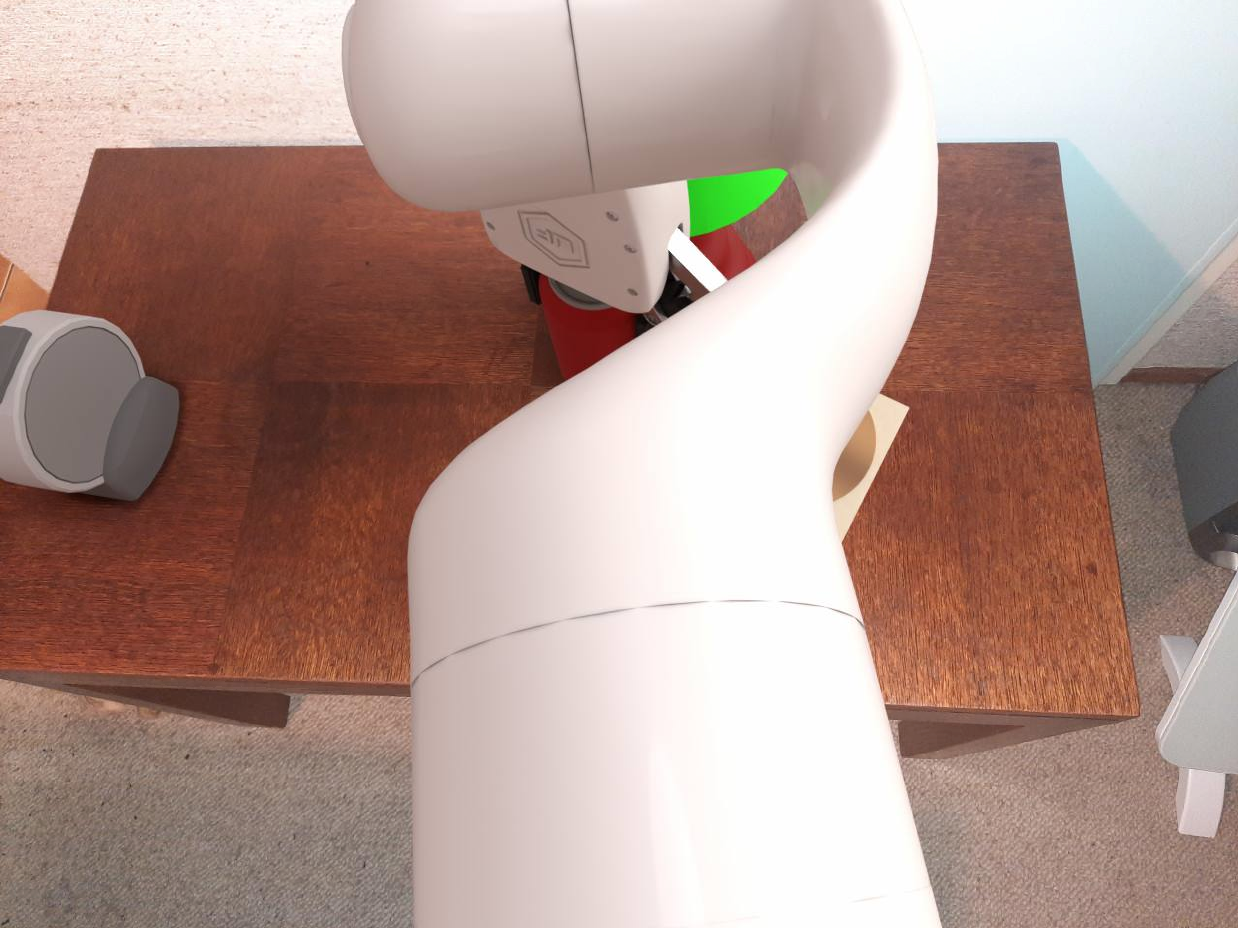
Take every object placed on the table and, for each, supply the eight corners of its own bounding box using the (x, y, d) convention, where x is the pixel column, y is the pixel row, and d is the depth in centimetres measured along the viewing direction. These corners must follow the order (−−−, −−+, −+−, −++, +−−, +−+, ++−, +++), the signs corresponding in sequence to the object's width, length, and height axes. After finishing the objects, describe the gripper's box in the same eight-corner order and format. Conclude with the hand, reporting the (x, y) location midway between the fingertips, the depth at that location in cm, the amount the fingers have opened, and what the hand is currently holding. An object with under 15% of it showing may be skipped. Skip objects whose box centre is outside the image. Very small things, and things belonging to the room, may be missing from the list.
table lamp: (800, 349, 86) (925, -55, 43) (627, 440, 84) (581, 108, 41) (701, 206, 92) (725, -269, 50) (537, 287, 90) (417, -137, 48)
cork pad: (836, 532, 51) (837, 531, 51) (702, 464, 53) (703, 462, 52) (899, 410, 53) (900, 407, 53) (768, 349, 55) (769, 346, 55)
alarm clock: (108, 360, 90) (-25, 265, 73) (197, 373, 89) (84, 280, 72) (48, 506, 85) (-110, 440, 68) (143, 521, 84) (6, 458, 67)
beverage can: (678, 378, 57) (679, 280, 46) (591, 426, 57) (570, 339, 45) (628, 303, 60) (617, 193, 48) (543, 349, 59) (512, 247, 48)
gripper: (344, 76, 36) (449, 300, 52) (713, 238, 32) (700, 424, 49) (443, -42, 38) (514, 209, 55) (801, 96, 34) (759, 322, 51)
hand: (601, 309), depth 51 cm, fingers closed on beverage can, 6 cm apart
